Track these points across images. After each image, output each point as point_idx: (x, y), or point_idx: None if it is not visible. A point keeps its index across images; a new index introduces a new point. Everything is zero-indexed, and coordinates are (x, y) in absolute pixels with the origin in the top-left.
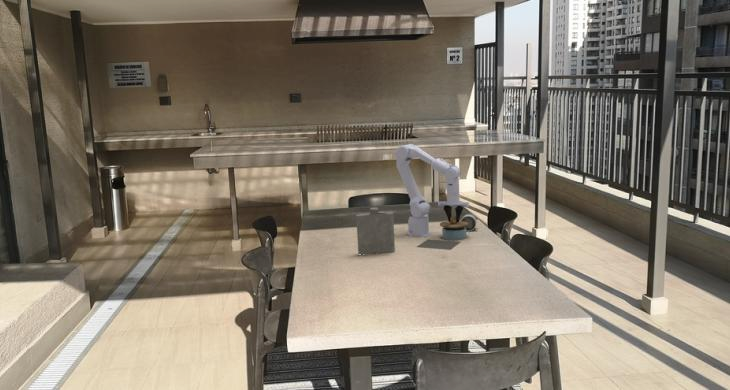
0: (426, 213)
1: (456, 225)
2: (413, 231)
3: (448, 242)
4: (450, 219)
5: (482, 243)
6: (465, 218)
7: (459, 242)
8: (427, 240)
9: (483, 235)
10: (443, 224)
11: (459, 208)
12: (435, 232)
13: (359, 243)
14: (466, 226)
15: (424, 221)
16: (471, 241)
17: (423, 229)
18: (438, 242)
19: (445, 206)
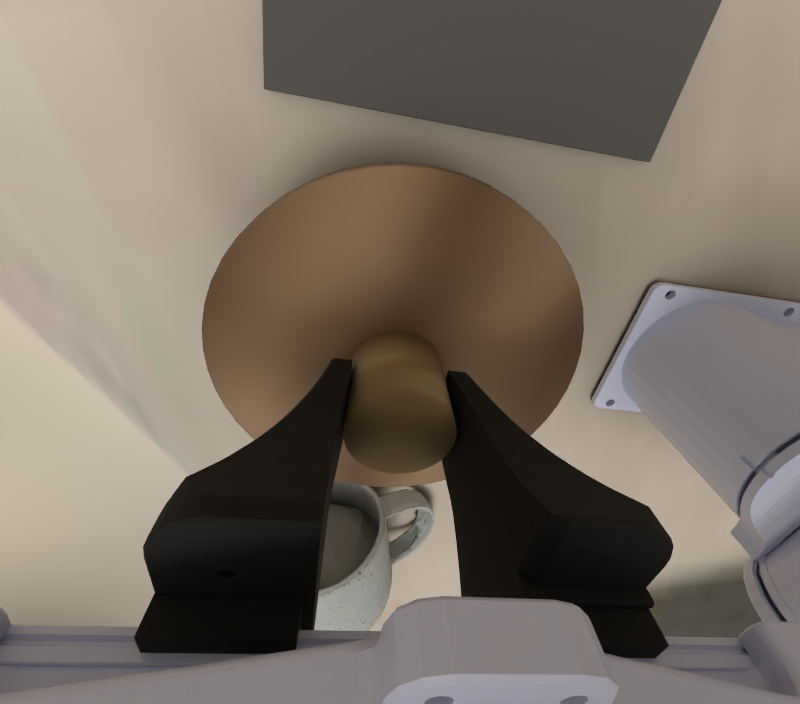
0: (786, 533)
1: (320, 231)
2: (790, 330)
3: (406, 23)
4: (444, 386)
5: (4, 81)
6: (343, 577)
7: (270, 41)
8: (661, 105)
9: (170, 394)
10: (531, 282)
11: (170, 513)
12: (561, 427)
13: None
14: (343, 516)
15: (774, 393)
16: (175, 168)
17: (715, 336)
18: (532, 3)
19: (621, 615)
